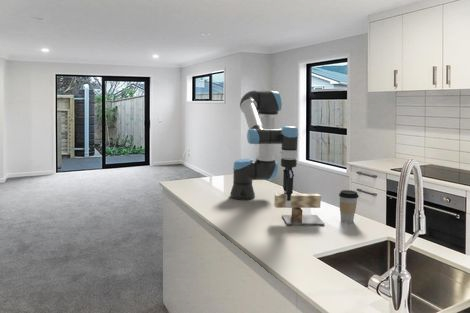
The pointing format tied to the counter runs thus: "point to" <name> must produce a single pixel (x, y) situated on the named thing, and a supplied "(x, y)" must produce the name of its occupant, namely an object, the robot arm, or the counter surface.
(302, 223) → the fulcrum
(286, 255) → the counter surface
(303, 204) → the beech bar
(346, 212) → the coffee cup
